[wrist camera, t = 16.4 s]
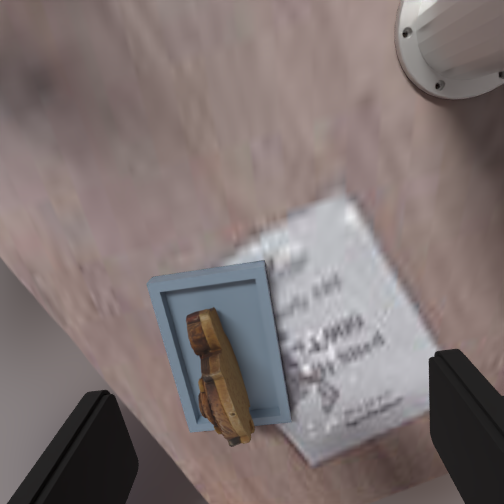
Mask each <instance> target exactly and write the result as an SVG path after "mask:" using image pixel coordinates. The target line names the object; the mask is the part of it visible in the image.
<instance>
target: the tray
mask: <svg viewBox="0 0 504 504" xmlns="http://www.w3.org/2000/svg"><path fill="white" fill-rule="evenodd" d="M147 287H148V291H149V294H150V298H151V301H152V304H153V308H154V311H155V315H156V318H157V322H158V325H159V328H160V332H161V335H162V339H163V342H164V345H165V349H166V352H167V356H168V359H169V362H170V366H171V369H172V373H173V376H174V380H175V383H176V386H177V390H178V393H179V397H180V400H181V403H182V407H183V410H184V414H185V417H186V420H187V424H188V427H189V431H190V432H200V431H210V430H215V429H214V425H213V424H212V423H211V422H210V421H209V420H208V419H207V418H204V417H203V416H202V414H201V412H200V409H199V401H198V395H199V393H200V390H199V386H198V381H199V379H200V378H201V376H202V374H201V359H200V357H199V356H197V355H196V354H195V353H194V350H193V349H192V348H191V345H190V341H189V339H188V332H187V324H186V317H187V315H189V314H191V313H194V312H197V311H201V310H205V309H210V308H213V307H214V308H215V309H216V311H217V314H218V316H219V319H220V322H221V325H222V328H223V330H224V332H225V334H226V336H227V337H228V339H229V341H230V344H231V346H232V348H233V351H234V354H235V356H236V359H237V362H238V365H239V368H240V371H241V375H242V378H243V381H244V384H245V388H246V391H247V395H248V399H249V402H250V407H249V412H250V415H251V417H252V420H253V423H254V426H259V425H269V424H278V423H288V422H291V411H290V405H289V399H288V393H287V387H286V382H285V376H284V370H283V364H282V359H281V353H280V347H279V341H278V335H277V330H276V324H275V318H274V312H273V307H272V301H271V295H270V289H269V283H268V278H267V272H266V266H265V260H263V261H256V262H250V263H243V264H236V265H229V266H223V267H216V268H209V269H202V270H196V271H189V272H182V273H176V274H169V275H162V276H155V277H152V278H151V279H150V280H149V282H148V283H147Z"/></svg>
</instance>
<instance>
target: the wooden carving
mask: <svg viewBox="0 0 504 504" xmlns="http://www.w3.org/2000/svg"><path fill="white" fill-rule="evenodd" d="M186 324H187V332H188V339H189V341H190V345H191V348H192V349H193V350H194V353H195V354H196V355H197V356H199V357H200V359H201V374H202V376H201V378H200V379H199V381H198V386H199V390H200V393H199V395H198V401H199V409H200V412H201V414H202V416H203V417H204V418H207V419H208V420H209V421H210V422H211V423H212V424H213V425H214V429H215V431H216V432H217V433H218V434H222V435H223V436H224V438H225V439H227V440H228V442H229V446H231V447H233V446H235V445H238V444H240V443H243V444H245V443H248V442H250V440H251V434H252V433H254V431H255V427H254V423H253V420H252V417H251V415H250V412H249V407H250V402H249V399H248V395H247V391H246V388H245V384H244V381H243V378H242V375H241V371H240V368H239V365H238V362H237V359H236V356H235V354H234V351H233V348H232V346H231V344H230V341H229V339H228V337H227V336H226V334H225V332H224V330H223V328H222V325H221V322H220V319H219V316H218V314H217V311H216V309H215V308H214V307H213V308H210V309H205V310H201V311H197V312H194V313H191V314H189V315H187V317H186Z"/></svg>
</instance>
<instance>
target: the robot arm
mask: <svg viewBox="0 0 504 504" xmlns="http://www.w3.org/2000/svg"><path fill="white" fill-rule="evenodd" d="M402 33H406V38H404V37H403V35H402ZM395 45H396V51H397V56H398V58H399V61H400V64H401V66H402V69H403V70H404V72H405V73H406V75H407V76H408V78H409V79H410V80H411V81H412V82H413V83H414V84H415V85H416V86H417V87H418V88H419V89H421V90H422V91H424V92H426V93H427V94H429V95H432V96H435V97H438V98H442V99H450V100H456V99H467V98H471V97H476V96H479V95H482V94H484V93H487V92H490V91H492V90H494V89H495V88H497V87H499V86H500V85H502V84H504V0H401V2H400V5H399V8H398V11H397V16H396V22H395ZM498 74H500V75H498ZM435 84H437V85H438V88H437V89H436V88H435ZM429 401H430V434H431V438H432V441H433V444H434V446H435V448H436V450H437V452H438V454H439V456H440V458H441V459H442V461H443V463H444V465H445V467H446V469H447V471H448V472H449V474H450V476H451V478H452V480H453V482H454V484H455V486H456V487H457V489H458V491H459V493H460V495H461V497H462V498H463V500H464V502H465V504H504V396H501V395H500V394H499V393H498V392H497V390H496V389H495V388H494V387H493V386H492V385H491V384H490V383H489V382H488V380H487V379H486V378H485V377H484V376H483V375H482V374H481V373H480V372H479V370H478V369H477V368H476V367H475V366H474V365H473V364H472V363H471V361H470V360H469V359H468V358H467V357H466V356H465V355H464V354H463V353H462V352H461V351H460V350H459V349H451V350H443V351H437V352H435V357H431V358H429ZM137 472H138V458H137V455H136V452H135V450H134V447H133V444H132V441H131V439H130V436H129V433H128V430H127V428H126V425H125V422H124V420H123V417H122V414H121V411H120V408H119V406H118V403H117V400H116V398H115V396H114V395H113V394H110V393H109V392H108V391H107V390H101V391H92V392H87V393H86V394H85V395H84V396H83V398H82V399H81V400H80V402H79V403H78V405H77V406H76V408H75V409H74V410H73V412H72V413H71V414H70V416H69V417H68V419H67V420H66V421H65V423H64V424H63V426H62V427H61V428H60V430H59V431H58V433H57V434H56V436H55V437H54V438H53V440H52V441H51V443H50V444H49V446H48V447H47V448H46V450H45V451H44V452H43V454H42V455H41V457H40V458H39V460H38V461H37V462H36V464H35V465H34V467H33V468H32V469H31V471H30V472H29V473H28V475H27V476H26V478H25V479H24V481H23V482H22V483H21V485H20V486H19V488H18V489H17V490H16V492H15V493H14V495H13V496H12V497H11V499H10V500H9V502H8V503H7V504H125V503H126V500H127V498H128V495H129V493H130V490H131V488H132V485H133V482H134V480H135V477H136V475H137Z"/></svg>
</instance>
